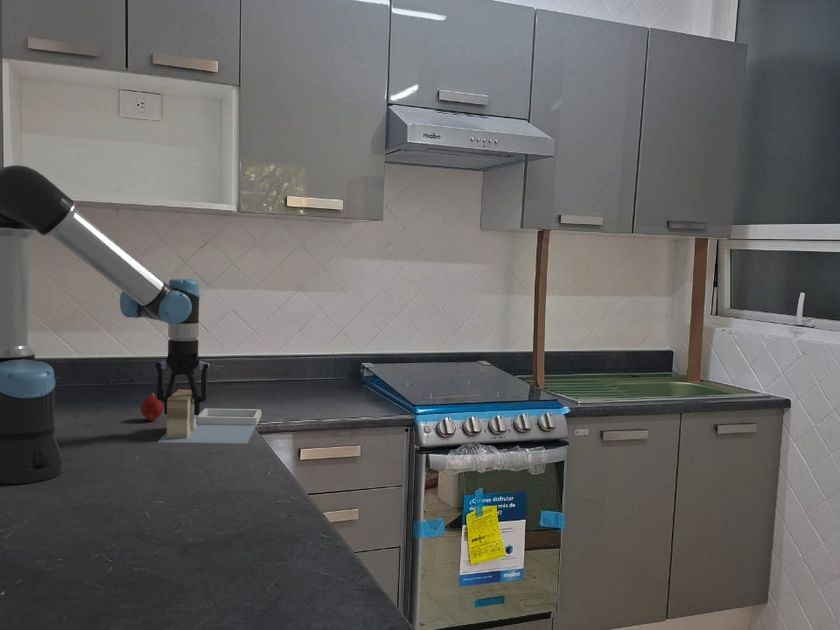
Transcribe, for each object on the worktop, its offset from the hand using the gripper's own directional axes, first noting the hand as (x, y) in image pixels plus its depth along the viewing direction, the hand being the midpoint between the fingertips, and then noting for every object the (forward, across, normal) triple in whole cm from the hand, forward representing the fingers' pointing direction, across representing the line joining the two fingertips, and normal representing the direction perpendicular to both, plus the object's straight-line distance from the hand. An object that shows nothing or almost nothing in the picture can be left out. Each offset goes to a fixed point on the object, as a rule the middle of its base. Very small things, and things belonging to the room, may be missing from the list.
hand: (182, 426), depth 198 cm
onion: (+2, +11, -13) cm, 17 cm away
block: (+1, 0, 0) cm, 1 cm away
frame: (+2, -10, -15) cm, 18 cm away
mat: (+2, -7, -7) cm, 10 cm away
